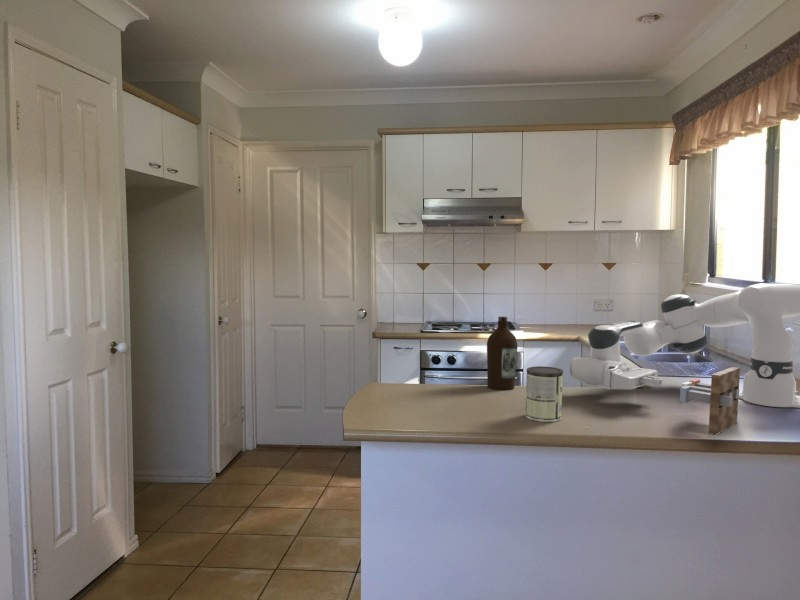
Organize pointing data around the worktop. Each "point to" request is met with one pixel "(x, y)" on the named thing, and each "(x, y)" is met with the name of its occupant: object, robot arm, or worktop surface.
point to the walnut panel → (719, 386)
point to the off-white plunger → (701, 388)
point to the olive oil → (501, 357)
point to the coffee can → (544, 394)
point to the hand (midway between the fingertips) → (660, 382)
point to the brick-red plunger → (697, 383)
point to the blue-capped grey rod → (702, 396)
